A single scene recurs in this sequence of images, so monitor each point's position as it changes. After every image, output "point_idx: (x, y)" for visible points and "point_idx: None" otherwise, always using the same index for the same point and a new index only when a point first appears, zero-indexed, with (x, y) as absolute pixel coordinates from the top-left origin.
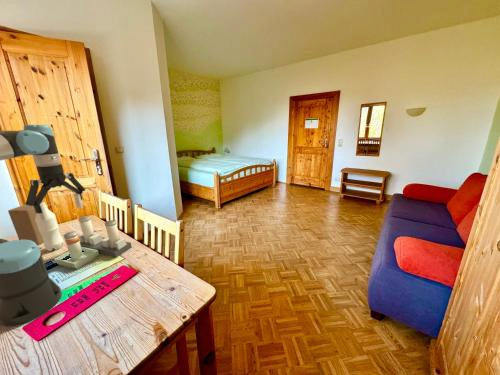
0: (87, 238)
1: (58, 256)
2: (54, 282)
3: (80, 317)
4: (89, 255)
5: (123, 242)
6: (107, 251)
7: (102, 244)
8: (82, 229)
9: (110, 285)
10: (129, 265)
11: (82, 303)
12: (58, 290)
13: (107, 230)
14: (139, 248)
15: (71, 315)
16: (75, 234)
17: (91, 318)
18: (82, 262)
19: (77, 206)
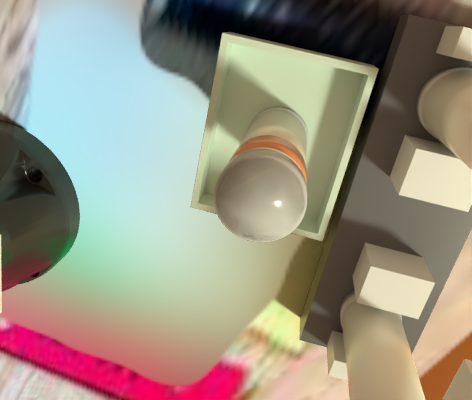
0: (428, 123)
1: (249, 39)
2: (35, 263)
3: (15, 370)
4: None
5: None
6: (314, 293)
7: (366, 250)
8: (455, 120)
9: (135, 382)
10: (247, 393)
11: (53, 345)
12: (41, 271)
13: (353, 396)
14: None
15: (12, 344)
16: (261, 239)
17: (20, 397)
18: None
19: (464, 383)
